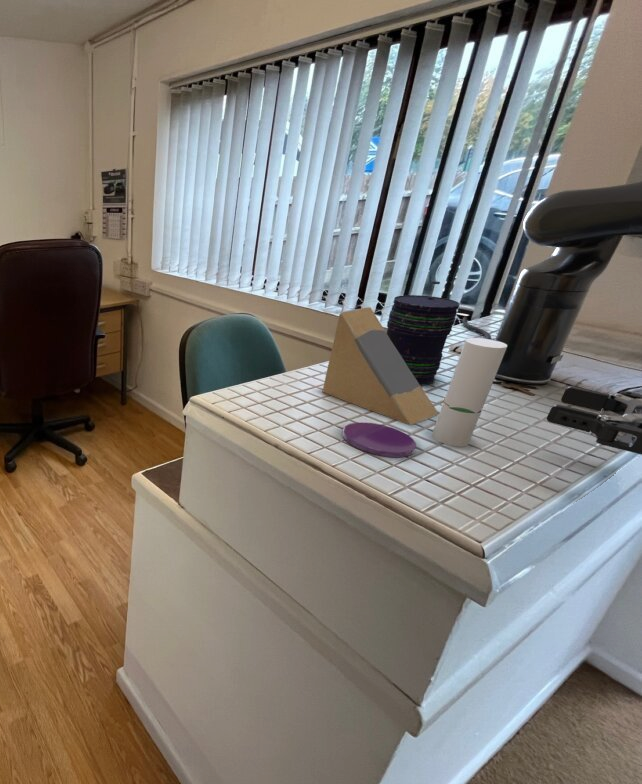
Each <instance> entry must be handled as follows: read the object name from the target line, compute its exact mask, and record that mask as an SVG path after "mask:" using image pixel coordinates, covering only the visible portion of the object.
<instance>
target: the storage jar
mask: <svg viewBox="0 0 642 784" xmlns="http://www.w3.org/2000/svg"><path fill="white" fill-rule="evenodd" d="M431 284H433V285H440V284H441V282H440V281H437V280H435V281H434V280H433V281H431ZM459 307H460V302H458V301H456V300H453V299H450V298H444V297H438V296H431V295H419V294H416V295H415V294H407V295H397V296H395V297H394V298H393V304H392V306H391V309H390V311H389V313H388V320H387V322H386V327H387V329H386V333H387V335H388V337H389V338H390V340H391V341H392V343H393V344H394V346H395V347H396V349H397V351H398V352H399V354H400V355H401V357H402V358H403V360H404V361H405V363H406V365H407V366H408V368H409V369H410V371H411V372H412V374H413V375H414V377H415V378H416V380H417V381H418V383H419V385H420V386H428V385H432V384H434V382H435V376H436V375H437V373H438V371H439V369H440V367H441V361H442V358H443V351H444V347H445V344H446V341H447V338H448V336H449V335H450V334H451V332H452V331H453V330H452V328H453V326H454V324H455V321H456V316H457V313H458V311H457V310H459Z"/></svg>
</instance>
